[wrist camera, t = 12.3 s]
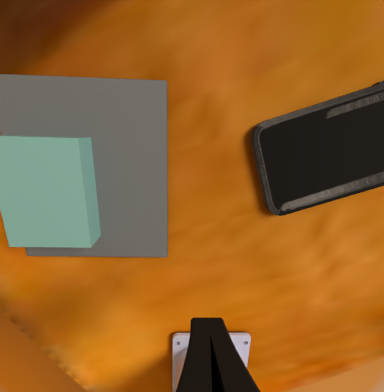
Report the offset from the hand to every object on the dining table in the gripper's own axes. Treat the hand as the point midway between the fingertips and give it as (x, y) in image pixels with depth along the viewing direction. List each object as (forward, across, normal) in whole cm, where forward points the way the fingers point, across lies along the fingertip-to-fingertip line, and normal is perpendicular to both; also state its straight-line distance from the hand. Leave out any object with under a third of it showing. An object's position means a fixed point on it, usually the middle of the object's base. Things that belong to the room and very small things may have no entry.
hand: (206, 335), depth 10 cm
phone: (+10, -12, -8) cm, 18 cm away
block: (+8, +8, -4) cm, 12 cm away
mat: (+10, +8, -5) cm, 14 cm away
